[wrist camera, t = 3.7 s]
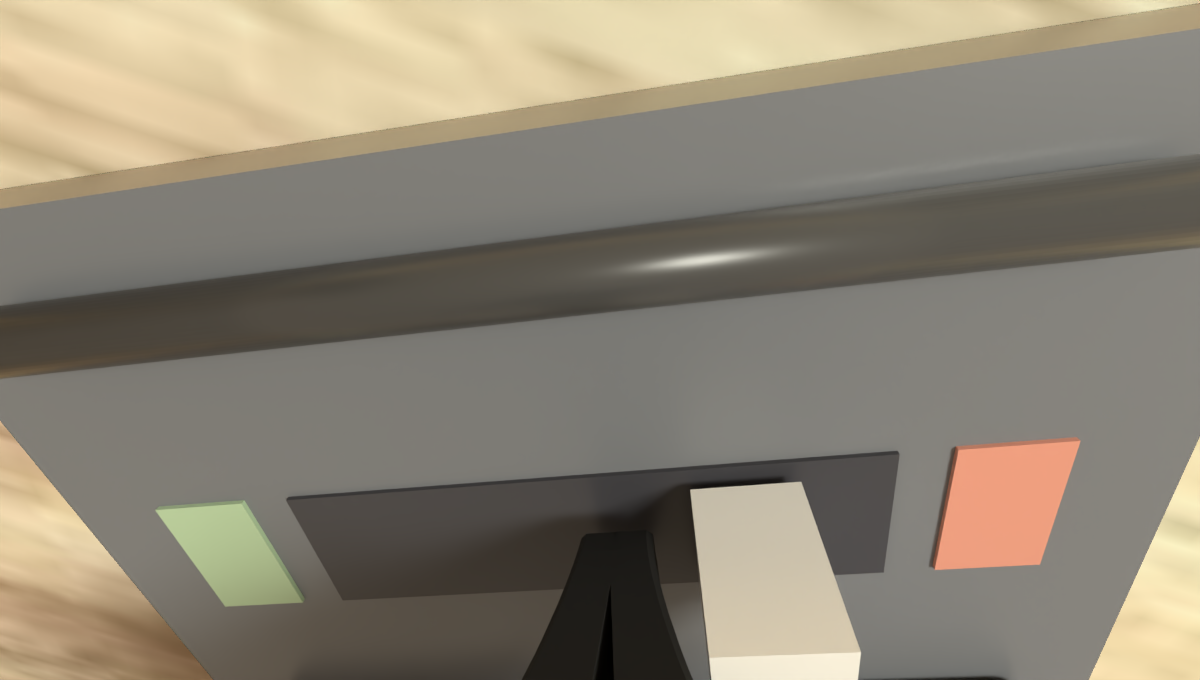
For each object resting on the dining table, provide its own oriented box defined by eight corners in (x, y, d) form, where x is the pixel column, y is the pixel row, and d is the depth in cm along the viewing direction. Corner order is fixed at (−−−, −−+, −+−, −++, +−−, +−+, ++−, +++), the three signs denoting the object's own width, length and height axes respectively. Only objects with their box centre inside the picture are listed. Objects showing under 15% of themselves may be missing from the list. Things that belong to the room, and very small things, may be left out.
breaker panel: (1011, 634, 17) (1100, 782, 14) (307, 661, 19) (242, 790, 16) (1214, 0, 9) (1537, -4, 6) (-8, 190, 12) (-253, 260, 8)
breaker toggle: (798, 583, 12) (848, 759, 9) (699, 587, 12) (719, 761, 9) (801, 481, 10) (861, 652, 8) (690, 489, 11) (709, 658, 8)
